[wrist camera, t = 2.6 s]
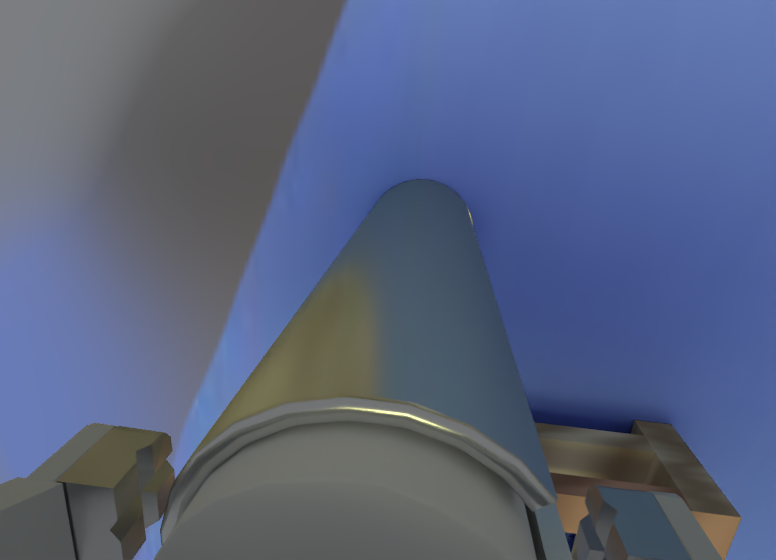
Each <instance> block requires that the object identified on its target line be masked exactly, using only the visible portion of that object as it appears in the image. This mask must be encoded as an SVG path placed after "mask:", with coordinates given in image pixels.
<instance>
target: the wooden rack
mask: <svg viewBox="0 0 776 560" xmlns="http://www.w3.org/2000/svg"><path fill="white" fill-rule="evenodd" d="M534 424H535V427H536V430H537V433H538V437H539V440H540V443H541V446H542V449H543V453H544V456H545V459H546V462H547V465H548V469H549V472H550V475H551V478H552V482H553V485H554V488H555V491H556V494H557V502H556V506H557V509H558V512H559V516H560V519H561V522H562V526H563V529H564V532H567V533H575V534H576V535H577V531H578V526H579V522H580V520H581V519H583V518H584V517H585V516H587V515H588V514H589V512H588V510H587V507H586V505H585V498H586V495H587V491H588V490H589V488H590V487H591V485H595V486H604V487H613V488H621V489H630V490H638V491H645V492H646V491H655V492H665V493H675V494H677V495H678V496H680V497H681V498H682V499H683V501H684V502H685V504H686V505H687V507H688V508H689V510H690V511H691V513H692V514H693V516H694V517H695V519H696V520H697V522H698V523H699V525H700V526H701V528H702V529H703V531H704V532H705V534H706V535H707V537H708V538H709V540H710V541H711V543H712V544H713V546H714V547H715V549H716V550H717V552H718V553H719V555H720V556H721V558H722V559H723V560H725V558H726V555H727V553H728V550H729V548H730V545H731V543H732V540H733V538H734V535H735V533H736V530H737V528H738V525H739V523H740V520H741V516H740V515H739V514H738V512H737V511H736V510H735V508H734V507H733V506H732V504H731V503H730V502H729V500H728V499H727V498H726V496H725V495H724V494H723V492H722V491H721V490H720V488H719V487H718V486H717V484H716V483H715V482H714V480H713V479H712V478H711V476H710V475H709V474H708V473H707V471H706V470H705V469H704V467H703V466H702V465H701V463H700V462H699V461H698V459H697V458H696V457H695V455H694V454H693V453H692V451H691V450H690V449H689V447H688V446H687V445H686V443H685V442H684V441H683V439H682V438H681V437H680V435H679V434H678V433H677V431H676V430H675V429H674V427H673V426H672V425H671V424H663V423H655V422H647V421H638V420H634V423H633V427H632V430H631V434H626V433H618V432H610V431H602V430H594V429H585V428H577V427H569V426H561V425H553V424H544V423H536V422H534ZM571 555H572V559H573V560H578V557H577V551H576V536H575V540H574V544H573V548H572V552H571Z"/></svg>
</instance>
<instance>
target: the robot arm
mask: <svg viewBox="0 0 776 560" xmlns="http://www.w3.org/2000/svg"><path fill="white" fill-rule="evenodd" d="M171 452H172V444H171V437H170V436H169V435H168V434H166V433H163V432H156V431H150V430H142V429H136V428H129V427H122V426H113V425H105V424H99V423H93V424H90V425H87V426H85V427H84V428H83V429H82V430H81V431H80V432H78V433H77V434H76V435H75V436H74V437H73V438H72V439H70V440H69V441H68V442H67V443H66V444H65V445H64V446H62V447H61V448H60V449H59V450H58V451H57V452H56V453H54V454H53V455H52V456H51V457H50V458H49V459H48V460H46V461H45V462H44V463H43V464H42V465H41V466H40V467H38V468H37V469H36V470H35V471H34V472H33V473H32V474H30V475H29V476H28V477H27V478H19V477H17V478H15V479H13V480H10V481H8V482H5V483H3V484H0V560H132V559H133V558H134V556H135V555H136V553H137V552H138V550H139V549H140V548H141V546H142V545H143V543H144V542H145V540H146V536H145V528H147V527H149V526H150V525H152V524H154V523H155V522H157V521H159V520H160V518H161V517H162V515H163V514H164V512H165V508H166V504H167V500H168V497H169V493H170V489H171V486H172V484H173V482H174V481H175V476H174V469H173V468H172V466H171V465H170V464H169V463H168V461H167V460H166V458H167V457H168V456H169V455H170V453H171ZM585 505H586V507H587V510H588V512H589V514H588V515H587V516H585V517H584V518H583V519H581V520H580V522H579V526H578V531H577V535H576V551H577V557H578V560H723V559H722V558H721V556H720V555H719V553H718V552H717V550H716V549H715V547H714V546H713V544H712V543H711V541H710V540H709V538H708V537H707V535H706V534H705V532H704V531H703V529H702V528H701V526H700V525H699V523H698V522H697V520H696V519H695V517H694V516H693V514H692V513H691V511H690V510H689V508H688V507H687V505H686V504H685V502H684V501H683V499H682V498H681V497H680V496H678V495H677V494H675V493H665V492H655V491H646V492H645V491H638V490H630V489H621V488H613V487H604V486H595V485H591V487H590V488H589V490H588V491H587V495H586V498H585Z"/></svg>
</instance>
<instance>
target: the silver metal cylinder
mask: <svg viewBox="0 0 776 560" xmlns="http://www.w3.org/2000/svg"><path fill="white" fill-rule="evenodd" d="M556 502H557V494H556V491H555V488H554V485H553V482H552V478H551V475H550V472H549V469H548V465H547V462H546V459H545V456H544V453H543V449H542V446H541V443H540V440H539V437H538V433H537V430H536V427H535V424H534V420H533V417H532V414H531V411H530V408H529V404H528V401H527V398H526V395H525V392H524V388H523V385H522V382H521V379H520V375H519V372H518V369H517V366H516V363H515V359H514V356H513V353H512V350H511V347H510V343H509V340H508V337H507V334H506V330H505V327H504V324H503V321H502V318H501V314H500V311H499V308H498V305H497V301H496V298H495V295H494V292H493V289H492V285H491V282H490V279H489V276H488V273H487V269H486V266H485V263H484V260H483V256H482V253H481V250H480V247H479V244H478V240H477V237H476V234H475V231H474V228H473V222H472V217H471V214H470V212H469V210H468V207H467V205H466V204H465V202H464V201H463V200H462V199H461V197H460V196H459V195H458V194H457V193H456V192H455V191H453V190H452V189H450V188H449V187H448V186H446V185H444V184H441V183H438V182H436V181H433V180H423V179H416V180H410V181H405V182H402V183H400V184H398V185H396V186H394V187H392V188H391V189H389V190H388V191H387V192H386V193H385V194H384V195H382V196H381V197H380V199H379V200H378V202H377V203H376V204H375V206H374V207H373V208H372V210H371V211H370V212H369V214H368V215H367V217H366V218H365V219H364V221H363V222H362V223H361V225H360V226H359V227H358V229H357V230H356V232H355V233H354V234H353V236H352V237H351V238H350V240H349V241H348V242H347V244H346V245H345V247H344V248H343V249H342V251H341V252H340V253H339V255H338V256H337V257H336V259H335V260H334V262H333V263H332V264H331V266H330V267H329V268H328V270H327V271H326V272H325V274H324V275H323V277H322V278H321V279H320V281H319V282H318V283H317V285H316V286H315V287H314V289H313V290H312V292H311V293H310V294H309V296H308V297H307V298H306V300H305V301H304V302H303V304H302V305H301V307H300V308H299V309H298V311H297V312H296V313H295V315H294V316H293V317H292V319H291V320H290V322H289V323H288V324H287V326H286V327H285V328H284V330H283V331H282V332H281V334H280V335H279V337H278V338H277V339H276V341H275V342H274V343H273V345H272V346H271V347H270V349H269V350H268V352H267V353H266V354H265V356H264V357H263V358H262V360H261V361H260V362H259V364H258V365H257V367H256V368H255V369H254V371H253V372H252V373H251V375H250V376H249V377H248V379H247V380H246V382H245V383H244V384H243V386H242V387H241V388H240V390H239V391H238V392H237V394H236V395H235V396H234V398H233V399H232V401H231V402H230V403H229V405H228V406H227V407H226V409H225V410H224V411H223V413H222V414H221V416H220V417H219V418H218V420H217V421H216V422H215V424H214V425H213V426H212V428H211V429H210V431H209V432H208V433H207V435H206V436H205V437H204V439H203V440H202V441H201V443H200V444H199V446H198V447H197V448H196V450H195V451H194V453H193V454H192V456H191V457H190V459H189V460H188V462H187V463H186V465H185V466H184V468H183V469H182V470H181V472H180V473H179V475H178V476H177V478H176V479H175V481H174V482H173V484H172V486H171V489H170V493H169V497H168V500H167V504H166V508H165V512H164V516H163V520H162V524H161V528H160V533H161V543H162V547H161V548H160V550H159V551H158V553H157V555H156V556H155V558H154V560H573V559H572V555H571V552H570V549H569V545H568V542H567V539H566V535H565V532H564V529H563V526H562V522H561V519H560V516H559V512H558V509H557V506H556Z"/></svg>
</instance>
